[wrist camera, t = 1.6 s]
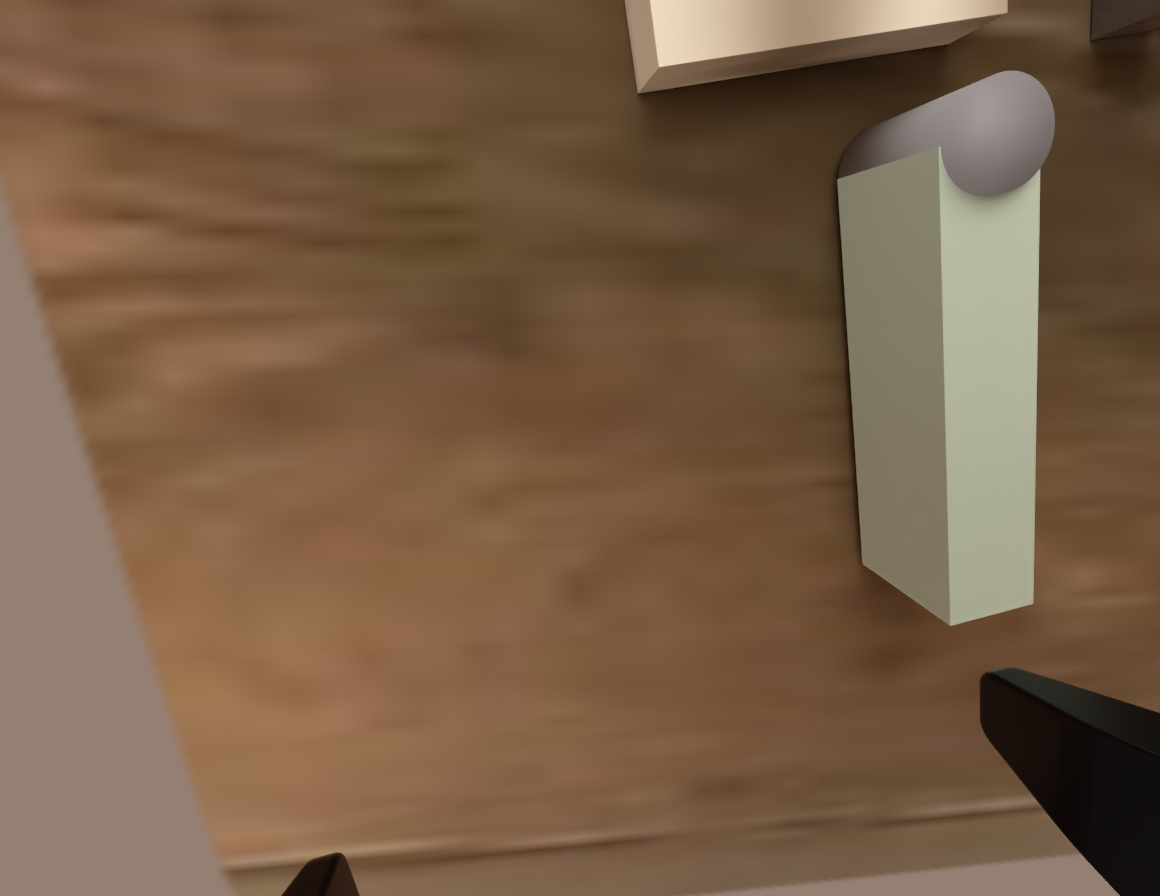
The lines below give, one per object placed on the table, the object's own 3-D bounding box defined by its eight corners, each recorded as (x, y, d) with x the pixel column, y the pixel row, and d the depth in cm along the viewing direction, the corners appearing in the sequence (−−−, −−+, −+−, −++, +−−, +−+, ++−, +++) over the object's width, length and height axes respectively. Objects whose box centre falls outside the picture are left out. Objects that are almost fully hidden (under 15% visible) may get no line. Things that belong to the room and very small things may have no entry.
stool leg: (834, 132, 17) (951, 80, 13) (916, 118, 17) (1058, 62, 13) (862, 564, 21) (961, 633, 16) (931, 546, 21) (1046, 610, 17)
